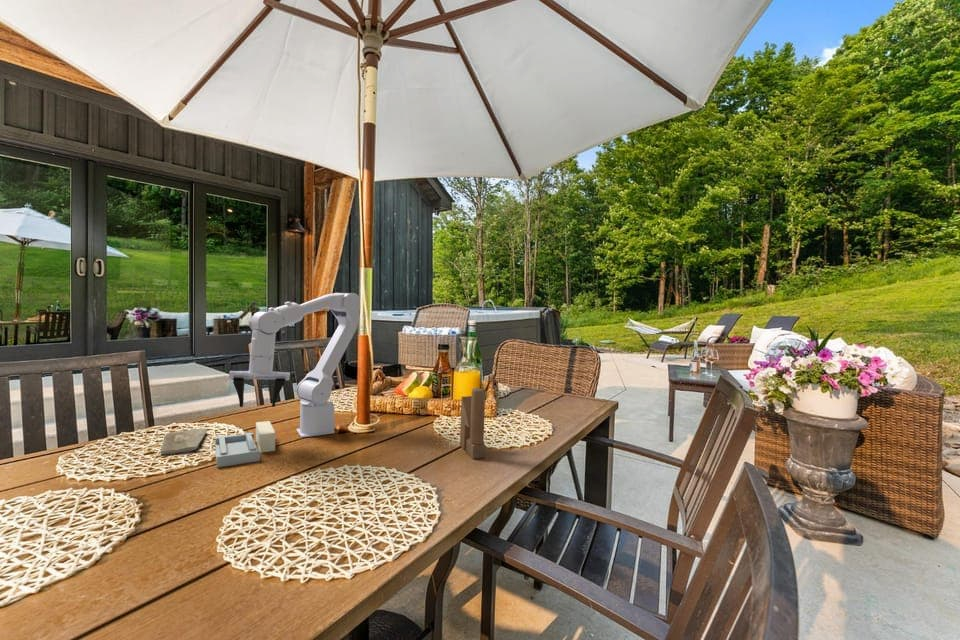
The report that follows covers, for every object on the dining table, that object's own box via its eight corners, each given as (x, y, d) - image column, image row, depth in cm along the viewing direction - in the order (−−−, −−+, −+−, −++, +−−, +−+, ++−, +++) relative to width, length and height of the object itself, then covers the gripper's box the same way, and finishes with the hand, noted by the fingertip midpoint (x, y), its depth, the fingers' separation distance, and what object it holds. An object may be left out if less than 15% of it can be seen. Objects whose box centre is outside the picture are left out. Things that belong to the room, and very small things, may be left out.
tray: (253, 441, 119) (253, 430, 119) (259, 460, 106) (259, 448, 106) (215, 446, 114) (215, 435, 114) (217, 467, 101) (217, 455, 101)
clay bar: (255, 439, 121) (255, 422, 121) (269, 438, 123) (269, 420, 123) (260, 453, 111) (260, 434, 111) (275, 451, 113) (275, 432, 113)
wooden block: (471, 444, 123) (473, 382, 122) (485, 458, 113) (487, 390, 112) (459, 446, 122) (461, 383, 121) (472, 459, 112) (474, 391, 111)
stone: (166, 432, 122) (207, 425, 127) (167, 442, 122) (208, 434, 127) (154, 449, 106) (202, 439, 111) (156, 460, 106) (203, 450, 111)
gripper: (229, 356, 109) (224, 409, 109) (291, 358, 115) (287, 409, 115) (232, 353, 116) (227, 403, 115) (291, 356, 122) (286, 403, 122)
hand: (257, 406), depth 116 cm, fingers open, 7 cm apart
